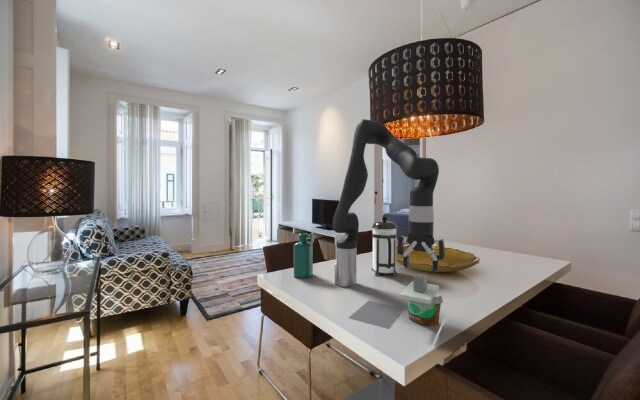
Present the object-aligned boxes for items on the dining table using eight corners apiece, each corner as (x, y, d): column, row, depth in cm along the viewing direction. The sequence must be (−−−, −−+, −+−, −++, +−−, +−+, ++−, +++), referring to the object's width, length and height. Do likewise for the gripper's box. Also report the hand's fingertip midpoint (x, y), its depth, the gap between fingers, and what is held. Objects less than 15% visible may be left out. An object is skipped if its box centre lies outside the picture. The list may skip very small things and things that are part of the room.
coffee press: (362, 273, 147) (362, 216, 146) (381, 267, 158) (381, 214, 157) (390, 281, 134) (390, 218, 133) (408, 274, 144) (409, 216, 143)
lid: (399, 297, 87) (399, 279, 87) (412, 284, 100) (412, 268, 99) (430, 304, 82) (430, 285, 82) (439, 289, 95) (439, 272, 95)
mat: (348, 319, 94) (348, 317, 94) (369, 301, 109) (369, 300, 109) (388, 330, 87) (388, 328, 87) (405, 309, 102) (405, 308, 102)
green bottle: (292, 277, 140) (292, 233, 140) (298, 272, 148) (298, 231, 148) (310, 279, 138) (310, 234, 137) (316, 274, 146) (316, 232, 145)
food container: (397, 320, 93) (398, 290, 93) (407, 314, 98) (407, 286, 97) (434, 333, 85) (434, 301, 84) (442, 326, 89) (443, 295, 89)
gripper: (446, 220, 89) (445, 270, 90) (402, 217, 97) (401, 263, 98) (442, 222, 83) (441, 276, 84) (395, 219, 91) (394, 269, 91)
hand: (420, 269), depth 91 cm, fingers open, 8 cm apart
